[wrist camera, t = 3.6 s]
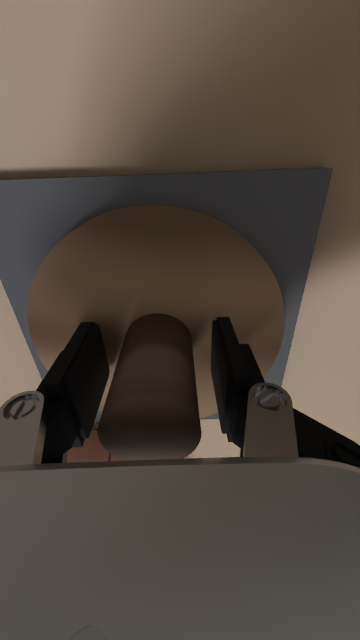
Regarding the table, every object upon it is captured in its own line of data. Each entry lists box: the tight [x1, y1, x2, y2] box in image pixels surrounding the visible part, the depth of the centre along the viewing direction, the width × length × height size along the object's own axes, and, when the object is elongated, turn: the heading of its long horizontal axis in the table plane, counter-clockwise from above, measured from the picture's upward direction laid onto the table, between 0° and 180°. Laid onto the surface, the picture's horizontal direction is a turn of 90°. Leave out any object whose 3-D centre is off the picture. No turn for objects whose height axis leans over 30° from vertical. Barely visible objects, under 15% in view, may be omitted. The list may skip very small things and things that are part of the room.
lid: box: [27, 204, 285, 461], centre depth 10 cm, size 12×12×6 cm
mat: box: [0, 168, 332, 423], centre depth 13 cm, size 14×14×1 cm
